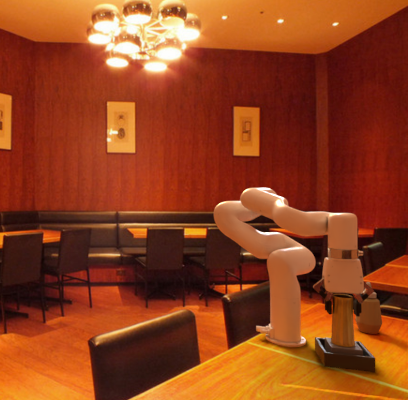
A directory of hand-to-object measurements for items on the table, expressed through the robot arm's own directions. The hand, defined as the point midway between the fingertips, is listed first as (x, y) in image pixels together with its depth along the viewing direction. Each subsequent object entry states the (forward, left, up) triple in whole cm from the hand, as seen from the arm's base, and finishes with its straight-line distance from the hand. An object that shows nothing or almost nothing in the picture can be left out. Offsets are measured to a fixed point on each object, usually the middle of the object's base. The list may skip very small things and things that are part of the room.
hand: (342, 313), depth 112 cm
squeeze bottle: (+16, +31, -15) cm, 38 cm away
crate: (0, 0, -14) cm, 14 cm away
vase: (0, 0, -9) cm, 9 cm away
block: (0, 0, -14) cm, 14 cm away
